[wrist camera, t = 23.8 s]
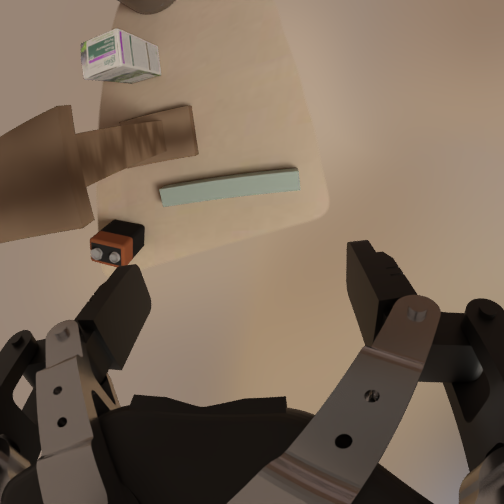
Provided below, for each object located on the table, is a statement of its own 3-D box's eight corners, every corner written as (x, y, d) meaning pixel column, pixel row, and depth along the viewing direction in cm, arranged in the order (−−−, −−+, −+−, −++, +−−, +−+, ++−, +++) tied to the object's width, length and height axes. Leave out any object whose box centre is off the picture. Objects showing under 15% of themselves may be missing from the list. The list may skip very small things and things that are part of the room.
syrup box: (158, 45, 37) (116, 24, 24) (162, 76, 40) (120, 65, 27) (127, 54, 38) (79, 41, 25) (131, 85, 40) (82, 80, 27)
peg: (165, 185, 48) (159, 189, 45) (297, 167, 46) (298, 170, 43) (169, 201, 49) (163, 207, 47) (298, 185, 47) (300, 190, 44)
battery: (113, 218, 51) (85, 240, 42) (145, 224, 51) (121, 248, 42) (113, 239, 53) (87, 264, 44) (144, 246, 53) (122, 273, 44)
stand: (124, 121, 43) (-32, 158, 14) (191, 105, 42) (57, 105, 13) (132, 166, 47) (-10, 245, 18) (198, 153, 45) (83, 228, 17)
